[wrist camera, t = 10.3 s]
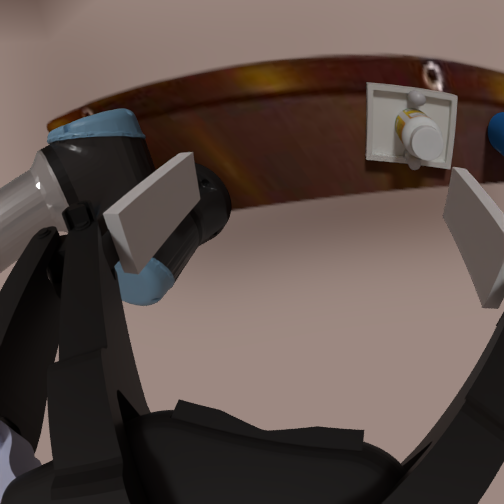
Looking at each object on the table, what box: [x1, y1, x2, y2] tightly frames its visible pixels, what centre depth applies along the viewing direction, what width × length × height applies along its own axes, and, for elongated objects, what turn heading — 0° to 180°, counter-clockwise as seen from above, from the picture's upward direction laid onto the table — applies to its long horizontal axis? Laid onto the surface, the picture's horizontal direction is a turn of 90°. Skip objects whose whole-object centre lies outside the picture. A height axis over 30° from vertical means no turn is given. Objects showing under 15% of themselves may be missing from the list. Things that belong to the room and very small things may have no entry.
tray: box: [365, 82, 457, 170], centre depth 35 cm, size 13×11×5 cm
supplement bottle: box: [395, 108, 444, 161], centre depth 32 cm, size 5×5×10 cm
